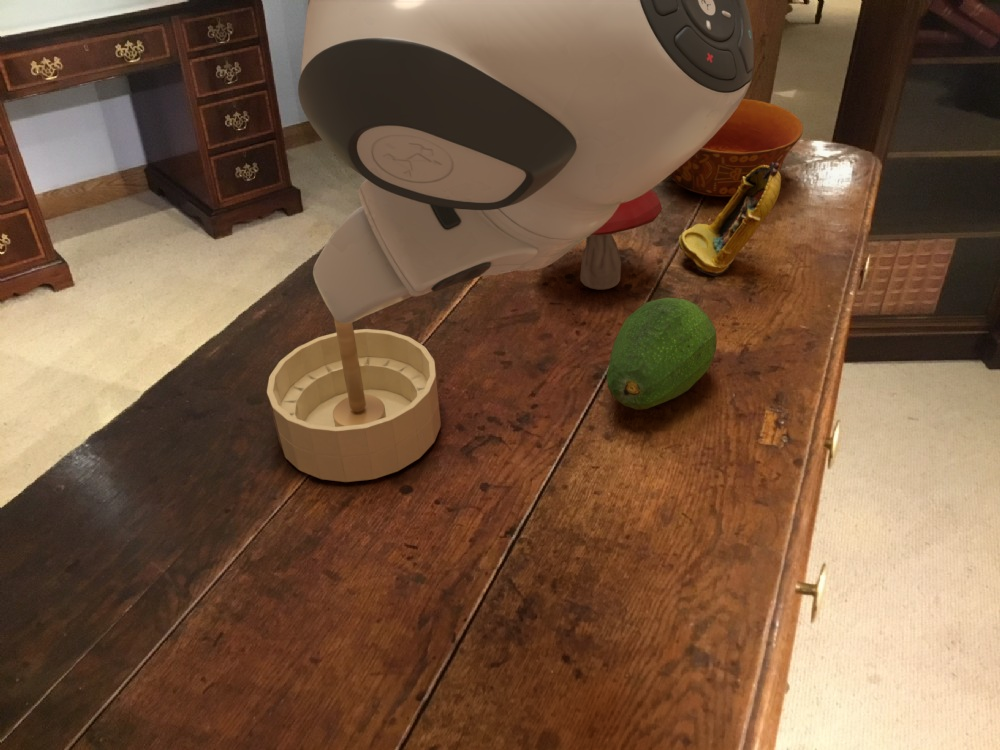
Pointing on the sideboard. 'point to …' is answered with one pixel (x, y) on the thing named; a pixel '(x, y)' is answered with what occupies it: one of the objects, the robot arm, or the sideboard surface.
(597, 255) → the decorative mushroom
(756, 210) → the shrine
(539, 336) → the sideboard surface
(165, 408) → the sideboard surface
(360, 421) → the wooden dowel stand
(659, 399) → the fruit
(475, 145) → the robot arm
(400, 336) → the mixing bowl
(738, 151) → the bowl
